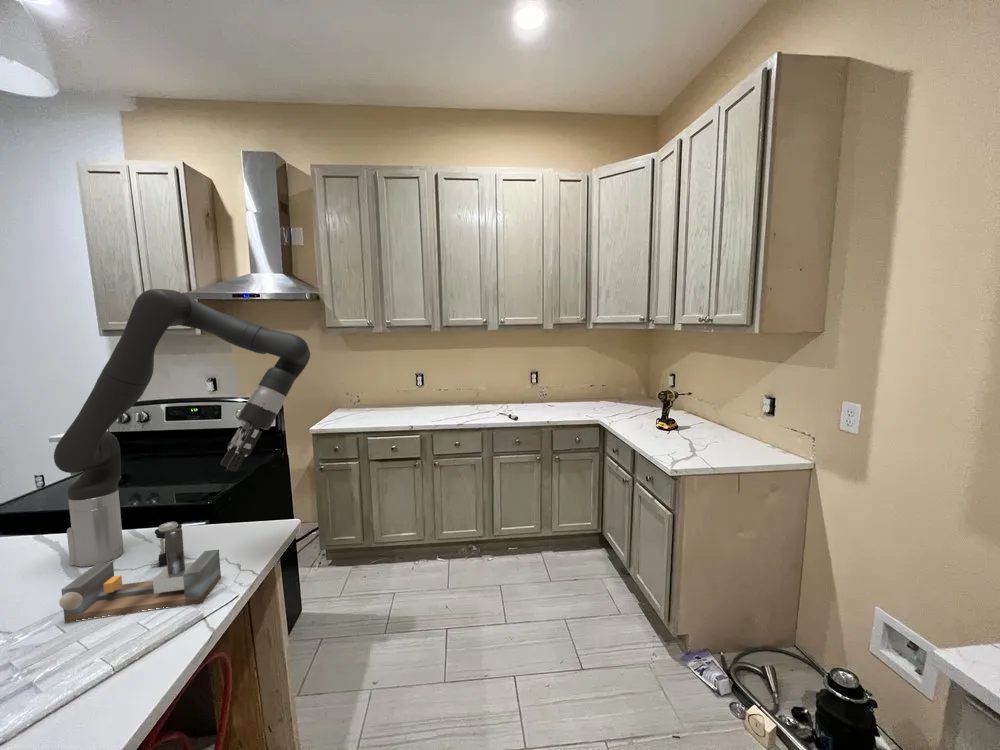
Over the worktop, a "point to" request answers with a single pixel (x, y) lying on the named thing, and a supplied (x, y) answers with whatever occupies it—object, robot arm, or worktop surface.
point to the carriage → (172, 564)
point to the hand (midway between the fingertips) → (227, 468)
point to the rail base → (136, 591)
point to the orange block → (112, 584)
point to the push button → (161, 534)
